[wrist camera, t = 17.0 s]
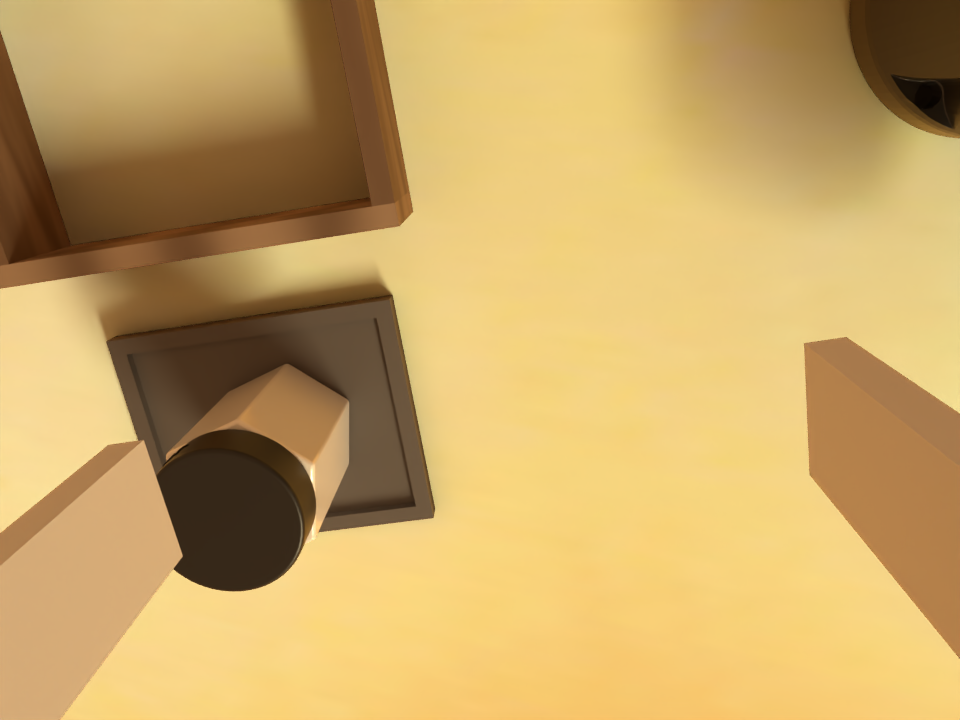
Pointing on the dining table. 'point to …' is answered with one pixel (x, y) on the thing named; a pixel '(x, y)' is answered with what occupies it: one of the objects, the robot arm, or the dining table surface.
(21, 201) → the crate
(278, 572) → the jar
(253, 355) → the tray
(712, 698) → the dining table surface
